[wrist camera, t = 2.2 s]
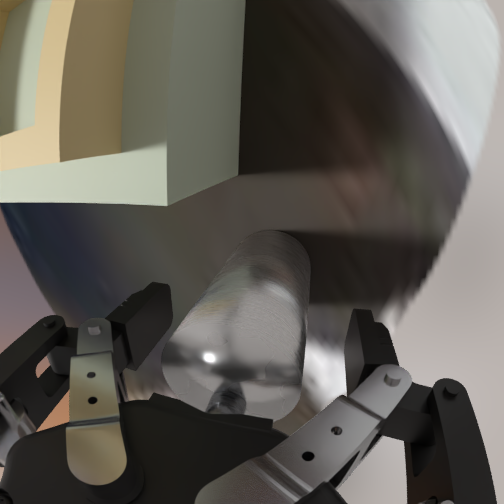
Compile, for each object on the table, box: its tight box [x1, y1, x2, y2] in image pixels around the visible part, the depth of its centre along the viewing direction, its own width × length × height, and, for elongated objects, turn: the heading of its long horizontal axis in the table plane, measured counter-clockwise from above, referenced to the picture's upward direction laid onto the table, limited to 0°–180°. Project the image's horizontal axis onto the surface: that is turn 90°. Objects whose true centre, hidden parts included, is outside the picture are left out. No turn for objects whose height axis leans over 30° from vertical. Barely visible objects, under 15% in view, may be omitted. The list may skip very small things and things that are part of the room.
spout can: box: [161, 230, 311, 422], centre depth 12 cm, size 4×4×11 cm
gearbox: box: [0, 0, 246, 206], centre depth 9 cm, size 14×15×10 cm
